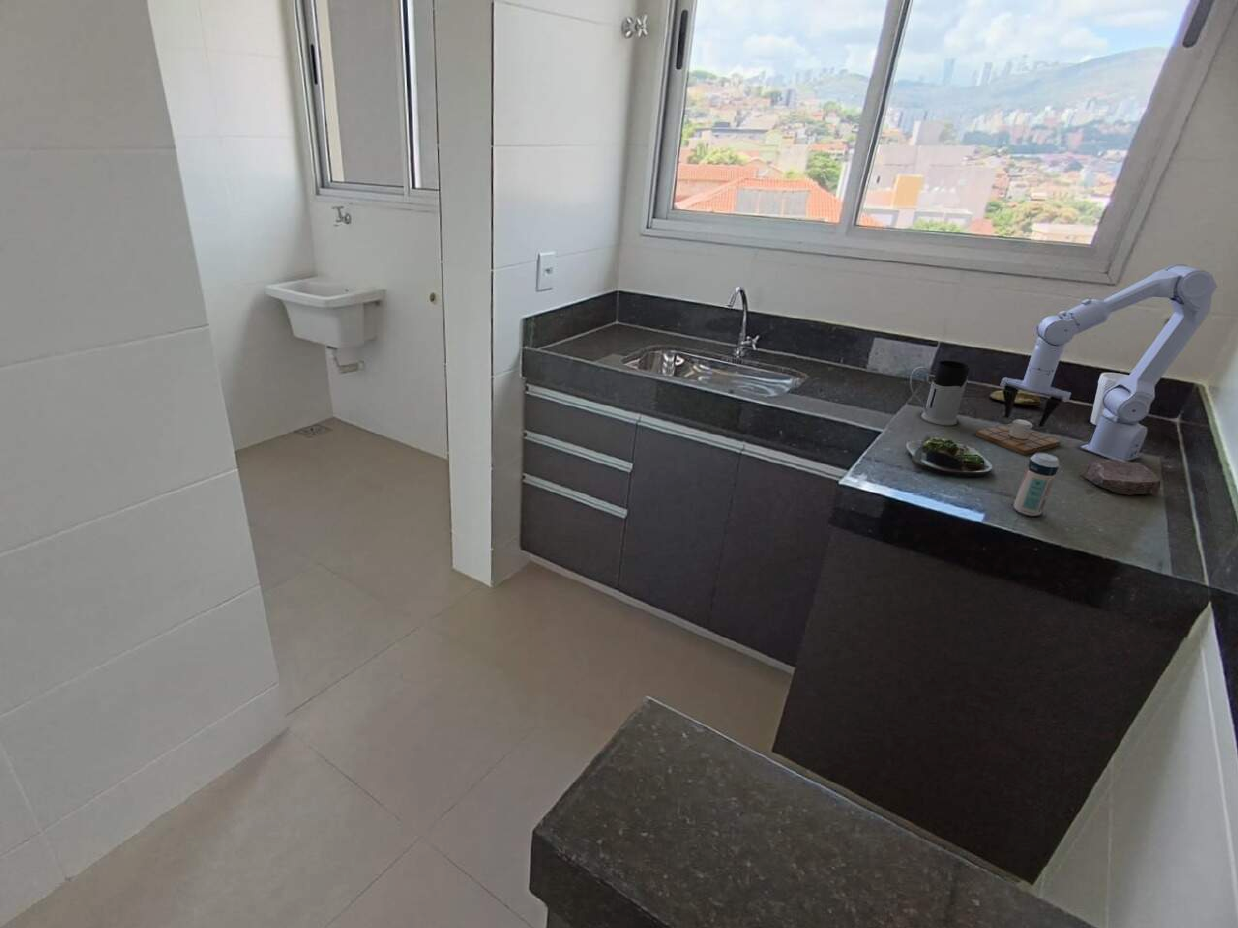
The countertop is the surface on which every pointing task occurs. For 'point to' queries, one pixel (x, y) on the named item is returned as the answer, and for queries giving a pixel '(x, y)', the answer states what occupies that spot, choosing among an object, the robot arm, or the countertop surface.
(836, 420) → the countertop surface
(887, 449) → the countertop surface
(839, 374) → the countertop surface
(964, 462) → the salad plate
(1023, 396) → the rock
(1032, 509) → the supplement jar
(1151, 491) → the stone
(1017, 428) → the white cylinder
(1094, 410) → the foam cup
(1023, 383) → the robot arm
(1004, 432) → the board
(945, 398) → the glass holder
